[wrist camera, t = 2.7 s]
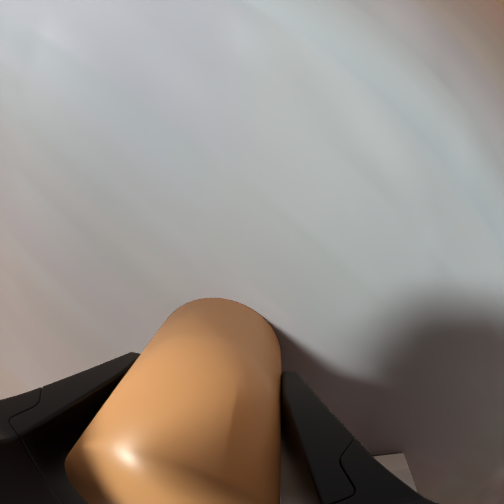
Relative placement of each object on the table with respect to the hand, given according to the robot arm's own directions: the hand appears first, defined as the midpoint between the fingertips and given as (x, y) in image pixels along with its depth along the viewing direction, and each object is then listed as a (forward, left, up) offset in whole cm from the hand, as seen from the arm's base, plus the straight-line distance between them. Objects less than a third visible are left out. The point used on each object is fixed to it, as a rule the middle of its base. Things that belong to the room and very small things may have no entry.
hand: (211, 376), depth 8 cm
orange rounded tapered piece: (0, 0, -1) cm, 1 cm away
